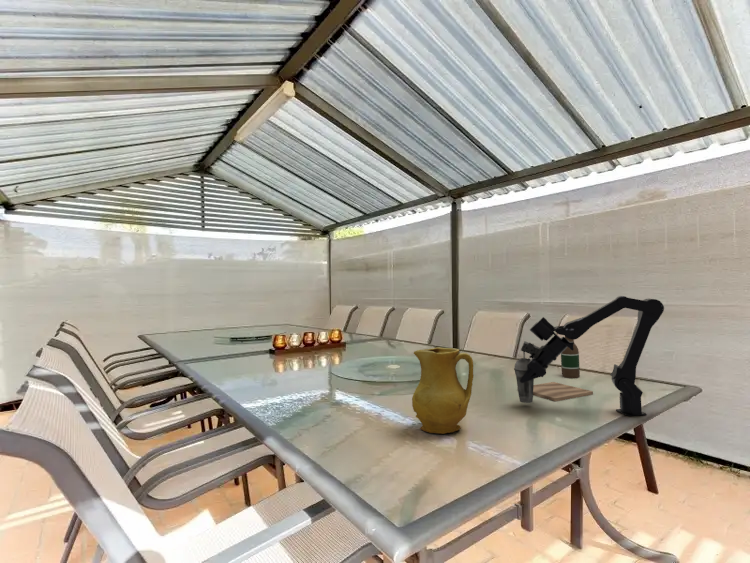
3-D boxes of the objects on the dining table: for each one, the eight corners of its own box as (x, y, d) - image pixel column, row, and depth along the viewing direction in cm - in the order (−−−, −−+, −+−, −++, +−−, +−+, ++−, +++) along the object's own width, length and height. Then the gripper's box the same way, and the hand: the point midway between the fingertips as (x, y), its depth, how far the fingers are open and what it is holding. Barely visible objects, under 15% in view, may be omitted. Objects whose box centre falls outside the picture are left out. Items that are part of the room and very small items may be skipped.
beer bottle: (558, 376, 199) (555, 325, 199) (569, 374, 202) (567, 324, 203) (572, 379, 192) (569, 327, 192) (583, 377, 195) (581, 325, 196)
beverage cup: (514, 402, 150) (511, 347, 151) (517, 397, 157) (514, 344, 157) (535, 404, 147) (532, 347, 147) (538, 399, 153) (535, 344, 154)
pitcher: (431, 417, 144) (428, 344, 144) (481, 426, 132) (478, 347, 132) (402, 431, 130) (399, 350, 131) (455, 443, 118) (451, 355, 119)
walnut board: (593, 394, 165) (592, 391, 165) (555, 401, 157) (555, 398, 157) (553, 384, 183) (553, 381, 183) (517, 390, 175) (517, 387, 175)
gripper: (534, 331, 160) (505, 359, 164) (533, 337, 142) (501, 368, 146) (558, 352, 157) (528, 380, 160) (560, 360, 139) (526, 392, 143)
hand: (521, 380), depth 153 cm, fingers closed on beverage cup, 7 cm apart
